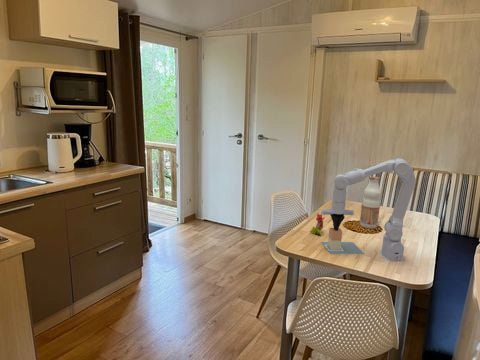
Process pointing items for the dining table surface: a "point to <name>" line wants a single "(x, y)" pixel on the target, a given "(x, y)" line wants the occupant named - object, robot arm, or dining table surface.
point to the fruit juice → (371, 204)
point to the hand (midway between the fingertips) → (335, 229)
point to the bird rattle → (318, 225)
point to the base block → (334, 244)
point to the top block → (335, 234)
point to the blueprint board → (344, 248)
